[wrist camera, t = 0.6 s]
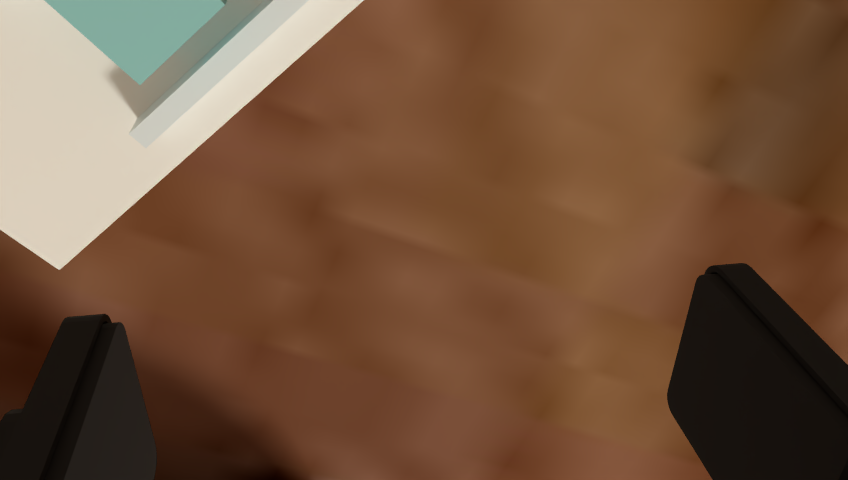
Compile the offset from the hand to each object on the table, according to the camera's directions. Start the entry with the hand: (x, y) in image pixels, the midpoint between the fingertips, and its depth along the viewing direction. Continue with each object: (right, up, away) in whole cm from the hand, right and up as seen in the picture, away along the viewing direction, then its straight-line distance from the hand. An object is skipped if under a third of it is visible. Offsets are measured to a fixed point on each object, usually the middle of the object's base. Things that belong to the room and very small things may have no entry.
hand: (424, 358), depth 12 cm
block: (-12, +14, +20) cm, 27 cm away
